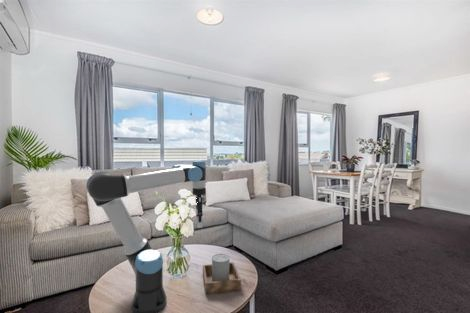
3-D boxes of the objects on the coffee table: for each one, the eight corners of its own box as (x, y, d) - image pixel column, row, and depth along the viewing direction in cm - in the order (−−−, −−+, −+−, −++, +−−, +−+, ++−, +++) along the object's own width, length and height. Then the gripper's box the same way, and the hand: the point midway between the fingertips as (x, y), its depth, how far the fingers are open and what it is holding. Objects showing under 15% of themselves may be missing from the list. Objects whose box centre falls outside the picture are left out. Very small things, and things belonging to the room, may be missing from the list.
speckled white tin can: (227, 286, 121) (227, 262, 121) (209, 284, 123) (209, 260, 123) (231, 276, 131) (231, 254, 130) (214, 274, 133) (214, 253, 132)
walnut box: (205, 294, 116) (205, 283, 116) (202, 274, 134) (202, 265, 134) (240, 290, 120) (240, 279, 119) (233, 271, 138) (233, 262, 138)
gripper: (207, 190, 124) (207, 230, 124) (203, 184, 148) (203, 217, 149) (193, 191, 122) (193, 231, 123) (191, 184, 146) (191, 218, 147)
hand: (199, 223), depth 136 cm, fingers open, 13 cm apart
